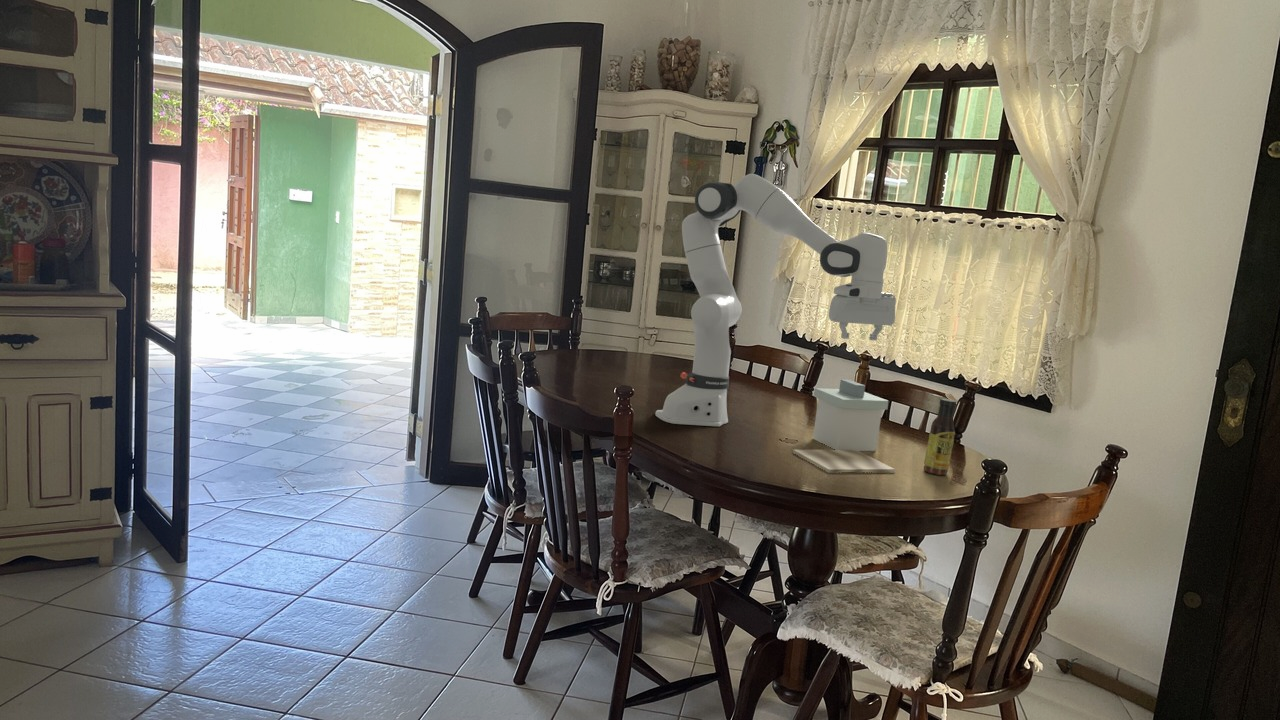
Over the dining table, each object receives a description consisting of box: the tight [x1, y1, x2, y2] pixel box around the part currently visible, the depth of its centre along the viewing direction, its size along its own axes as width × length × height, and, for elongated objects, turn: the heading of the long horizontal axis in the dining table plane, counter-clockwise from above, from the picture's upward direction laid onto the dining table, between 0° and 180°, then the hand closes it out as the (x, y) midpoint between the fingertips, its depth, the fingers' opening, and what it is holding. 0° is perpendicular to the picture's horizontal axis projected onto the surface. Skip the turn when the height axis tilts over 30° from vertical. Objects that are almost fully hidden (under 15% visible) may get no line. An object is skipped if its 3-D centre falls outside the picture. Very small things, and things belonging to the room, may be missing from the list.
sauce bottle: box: [923, 398, 957, 476], centre depth 224 cm, size 6×6×20 cm
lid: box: [813, 379, 890, 410], centre depth 244 cm, size 15×15×6 cm
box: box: [812, 398, 883, 452], centre depth 246 cm, size 13×13×14 cm
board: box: [792, 449, 896, 474], centre depth 226 cm, size 20×18×1 cm
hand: (859, 339), depth 242 cm, fingers open, 8 cm apart
